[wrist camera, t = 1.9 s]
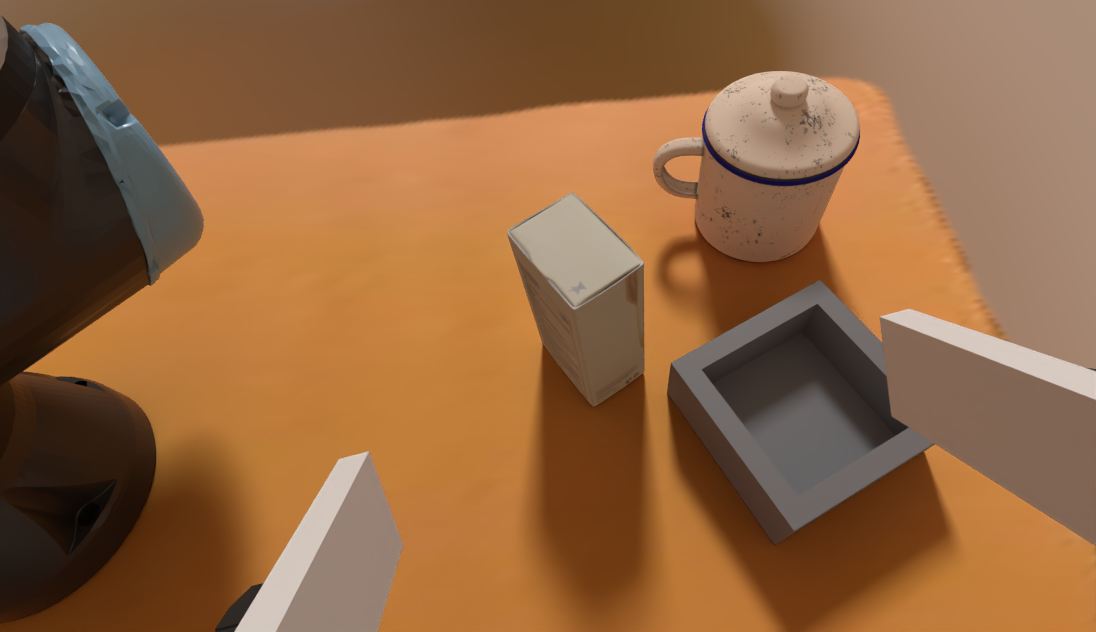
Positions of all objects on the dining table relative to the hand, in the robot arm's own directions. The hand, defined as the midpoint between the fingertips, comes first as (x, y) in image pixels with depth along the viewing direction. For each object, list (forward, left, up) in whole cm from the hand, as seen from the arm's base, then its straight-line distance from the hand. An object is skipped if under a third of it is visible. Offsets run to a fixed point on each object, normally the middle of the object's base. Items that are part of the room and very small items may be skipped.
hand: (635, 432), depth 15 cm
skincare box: (+4, +12, -21) cm, 25 cm away
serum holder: (+12, +2, -21) cm, 24 cm away
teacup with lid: (+19, +16, -21) cm, 33 cm away
